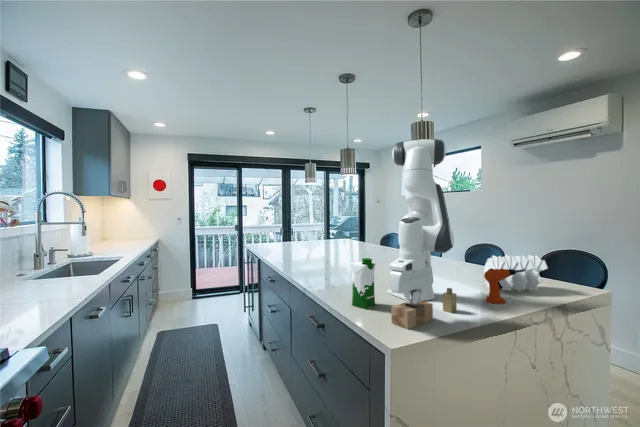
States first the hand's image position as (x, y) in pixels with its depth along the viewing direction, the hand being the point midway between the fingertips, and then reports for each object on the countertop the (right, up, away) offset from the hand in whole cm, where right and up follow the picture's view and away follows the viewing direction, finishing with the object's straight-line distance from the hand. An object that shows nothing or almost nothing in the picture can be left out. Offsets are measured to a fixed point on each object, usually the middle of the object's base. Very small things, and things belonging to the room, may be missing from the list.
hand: (413, 301), depth 107 cm
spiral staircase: (+60, -7, +39) cm, 72 cm away
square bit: (+18, -7, +11) cm, 22 cm away
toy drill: (+47, -7, +22) cm, 52 cm away
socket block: (0, -8, 0) cm, 8 cm away
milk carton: (-15, -8, +20) cm, 26 cm away
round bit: (0, -3, 0) cm, 3 cm away
